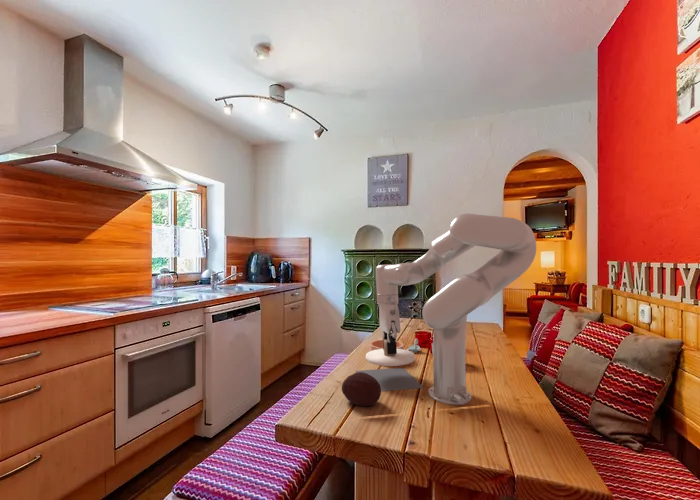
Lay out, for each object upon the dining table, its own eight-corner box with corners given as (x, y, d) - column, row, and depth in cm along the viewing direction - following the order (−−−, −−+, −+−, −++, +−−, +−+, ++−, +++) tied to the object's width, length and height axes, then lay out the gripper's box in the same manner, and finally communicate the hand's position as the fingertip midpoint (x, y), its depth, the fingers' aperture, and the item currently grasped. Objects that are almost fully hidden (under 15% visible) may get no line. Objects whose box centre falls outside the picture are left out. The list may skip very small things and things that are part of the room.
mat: (424, 389, 101) (423, 387, 101) (367, 394, 98) (367, 392, 98) (403, 369, 120) (403, 367, 120) (355, 372, 116) (355, 370, 116)
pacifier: (406, 353, 140) (419, 354, 138) (405, 340, 140) (419, 340, 139) (407, 349, 147) (420, 349, 146) (406, 336, 147) (419, 336, 146)
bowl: (408, 365, 124) (408, 347, 124) (374, 367, 121) (374, 349, 122) (396, 354, 138) (396, 338, 138) (366, 356, 135) (366, 340, 135)
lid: (423, 363, 102) (422, 344, 102) (373, 368, 98) (372, 348, 99) (404, 349, 118) (403, 333, 119) (360, 354, 115) (360, 337, 115)
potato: (377, 415, 84) (376, 381, 85) (336, 408, 89) (336, 375, 89) (384, 401, 93) (384, 370, 93) (347, 395, 97) (347, 365, 97)
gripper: (406, 301, 102) (408, 357, 101) (390, 296, 118) (392, 345, 117) (384, 302, 100) (386, 359, 99) (371, 297, 117) (373, 347, 116)
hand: (389, 351), depth 108 cm, fingers closed on lid, 4 cm apart
